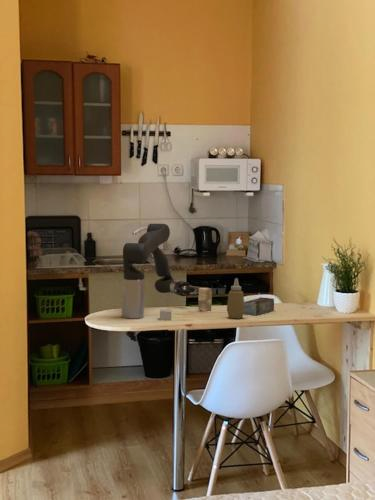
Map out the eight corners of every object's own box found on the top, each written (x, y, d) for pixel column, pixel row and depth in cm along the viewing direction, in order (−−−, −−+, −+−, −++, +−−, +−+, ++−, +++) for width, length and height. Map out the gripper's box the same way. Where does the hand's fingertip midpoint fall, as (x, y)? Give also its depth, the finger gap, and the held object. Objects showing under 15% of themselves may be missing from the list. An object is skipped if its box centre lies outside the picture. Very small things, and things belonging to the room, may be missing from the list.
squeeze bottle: (248, 318, 292) (249, 278, 290) (235, 320, 286) (236, 279, 285) (235, 315, 298) (236, 276, 296) (222, 317, 293) (223, 278, 291)
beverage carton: (241, 314, 302) (241, 300, 302) (260, 309, 318) (260, 296, 318) (256, 316, 298) (256, 302, 297) (274, 311, 314) (275, 297, 313)
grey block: (159, 320, 283) (160, 311, 282) (160, 318, 288) (160, 309, 287) (171, 320, 283) (171, 311, 283) (171, 318, 288) (171, 309, 288)
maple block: (203, 312, 306) (203, 289, 305) (198, 310, 309) (198, 288, 309) (211, 311, 308) (211, 288, 307) (206, 310, 312) (206, 287, 311)
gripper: (168, 281, 325) (184, 285, 311) (192, 279, 332) (209, 283, 318) (167, 296, 325) (184, 300, 311) (191, 294, 333) (208, 298, 319)
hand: (196, 292), depth 315 cm, fingers open, 8 cm apart
